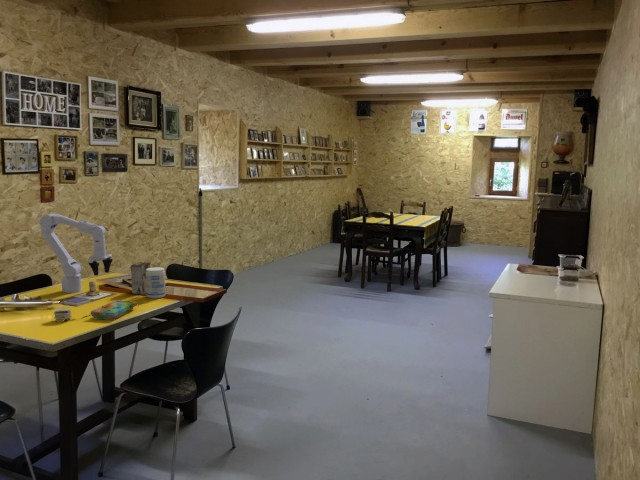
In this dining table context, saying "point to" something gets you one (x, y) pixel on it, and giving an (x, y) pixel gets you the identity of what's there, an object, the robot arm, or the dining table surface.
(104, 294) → the paper
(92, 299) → the desk board
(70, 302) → the ink pad
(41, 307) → the dining table surface
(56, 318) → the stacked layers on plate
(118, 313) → the puzzle game
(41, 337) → the dining table surface
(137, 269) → the coffee box
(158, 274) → the supplement tub
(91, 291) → the stamp
